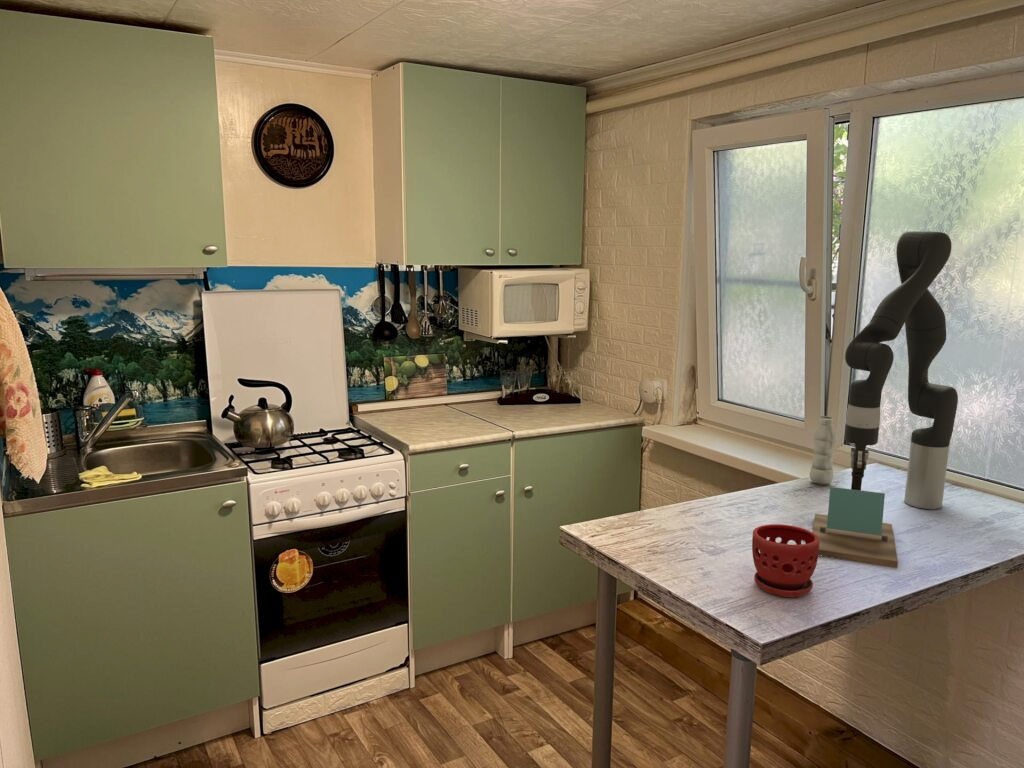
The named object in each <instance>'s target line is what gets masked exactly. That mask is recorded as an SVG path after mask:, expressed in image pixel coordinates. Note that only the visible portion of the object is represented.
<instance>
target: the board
mask: <svg viewBox="0 0 1024 768" xmlns="http://www.w3.org/2000/svg"><path fill="white" fill-rule="evenodd" d="M827 518H828V514H827V515H826V514H819V513H814V519H813V527H812V528H813V529H812V532H813V533H814V534H816V535H817V536H818V538H819V553H818V555H822V556H821V557H824V556H827V557H826V558H830V557H833V559H837V558H839V559H838V560H843V559H845V560H844V561H849V562H850V561H851V562H857V563H863V564H870V565H875V566H876V565H878V566H884V567H889V568H890V567H891V568H896V569H898V565H899V560H898V554H897V547H896V539H895V536H894V535H895V534H894V529H893V524H892V523H889V522H888V523H887V522H882V534H881V536H879V535H872V534H864V533H857V532H850V531H843V530H836V529H829V528H827Z"/></svg>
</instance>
